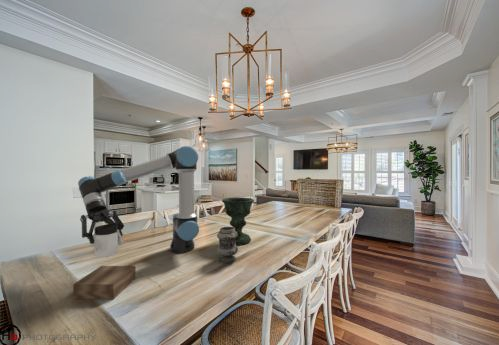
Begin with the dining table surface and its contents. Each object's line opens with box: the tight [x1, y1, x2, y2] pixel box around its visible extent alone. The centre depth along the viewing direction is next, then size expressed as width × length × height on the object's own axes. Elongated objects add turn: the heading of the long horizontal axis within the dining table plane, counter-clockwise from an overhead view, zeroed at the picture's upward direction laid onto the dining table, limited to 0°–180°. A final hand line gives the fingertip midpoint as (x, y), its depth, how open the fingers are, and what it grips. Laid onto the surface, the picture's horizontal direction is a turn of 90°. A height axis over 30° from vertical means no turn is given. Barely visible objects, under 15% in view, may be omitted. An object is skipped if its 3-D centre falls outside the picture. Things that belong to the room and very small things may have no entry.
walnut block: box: [72, 265, 136, 300], centre depth 93 cm, size 16×16×6 cm
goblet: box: [221, 196, 255, 246], centre depth 153 cm, size 22×23×30 cm
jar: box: [94, 223, 119, 259], centre depth 93 cm, size 9×8×12 cm
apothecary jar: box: [216, 225, 239, 264], centre depth 122 cm, size 12×12×18 cm
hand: (109, 245), depth 91 cm, fingers closed on jar, 8 cm apart
